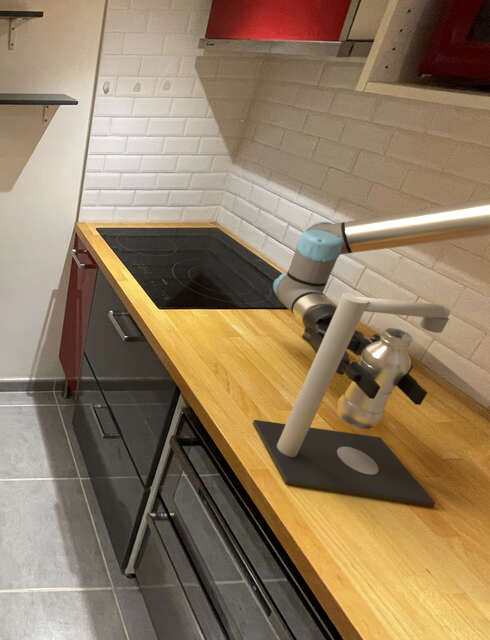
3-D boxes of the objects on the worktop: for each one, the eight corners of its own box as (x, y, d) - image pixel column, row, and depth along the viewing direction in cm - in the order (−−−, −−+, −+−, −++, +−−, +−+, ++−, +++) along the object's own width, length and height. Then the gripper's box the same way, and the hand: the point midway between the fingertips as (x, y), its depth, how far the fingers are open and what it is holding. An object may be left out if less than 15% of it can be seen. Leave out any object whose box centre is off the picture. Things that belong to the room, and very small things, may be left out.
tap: (377, 441, 89) (464, 288, 74) (432, 507, 76) (550, 339, 61) (252, 423, 92) (311, 274, 78) (285, 484, 80) (362, 320, 65)
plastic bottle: (324, 413, 86) (364, 327, 78) (346, 403, 88) (388, 319, 80) (362, 438, 81) (410, 349, 72) (384, 427, 83) (433, 340, 75)
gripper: (365, 338, 96) (453, 420, 75) (268, 327, 99) (326, 403, 78) (379, 309, 93) (475, 386, 72) (279, 299, 96) (342, 370, 75)
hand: (397, 395), depth 75 cm, fingers closed on plastic bottle, 6 cm apart
